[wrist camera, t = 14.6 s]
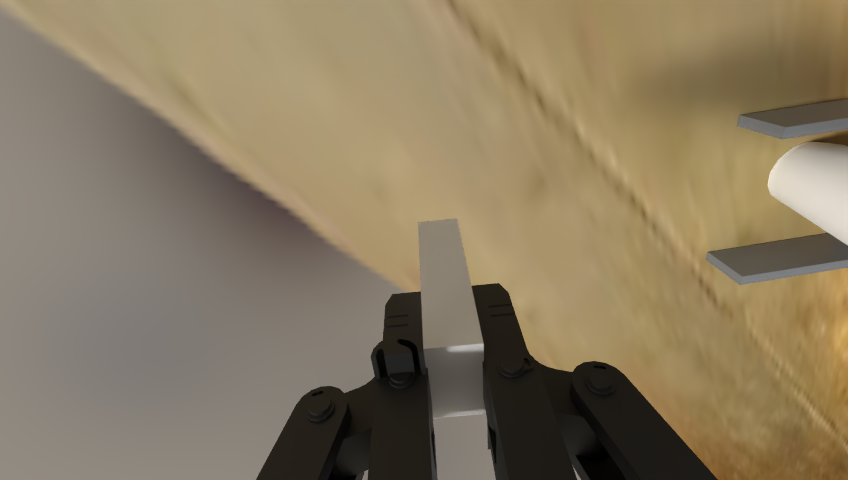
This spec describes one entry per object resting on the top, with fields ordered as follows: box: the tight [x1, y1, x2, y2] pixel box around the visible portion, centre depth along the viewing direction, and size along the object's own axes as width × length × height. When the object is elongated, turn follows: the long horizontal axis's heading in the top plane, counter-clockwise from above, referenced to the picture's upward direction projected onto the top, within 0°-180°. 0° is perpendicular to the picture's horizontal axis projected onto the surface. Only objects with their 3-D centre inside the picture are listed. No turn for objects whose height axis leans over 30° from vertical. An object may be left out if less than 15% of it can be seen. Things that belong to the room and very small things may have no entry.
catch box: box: [706, 99, 848, 285], centre depth 40 cm, size 16×16×6 cm
